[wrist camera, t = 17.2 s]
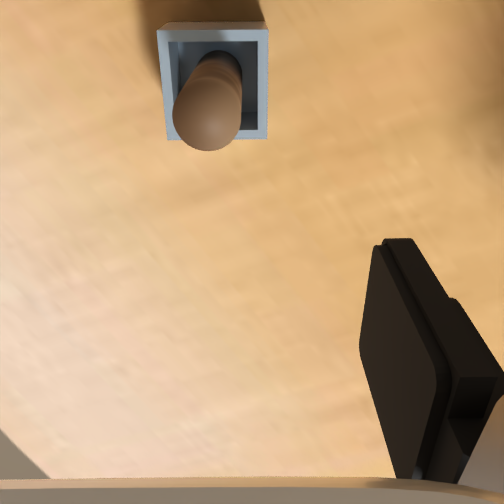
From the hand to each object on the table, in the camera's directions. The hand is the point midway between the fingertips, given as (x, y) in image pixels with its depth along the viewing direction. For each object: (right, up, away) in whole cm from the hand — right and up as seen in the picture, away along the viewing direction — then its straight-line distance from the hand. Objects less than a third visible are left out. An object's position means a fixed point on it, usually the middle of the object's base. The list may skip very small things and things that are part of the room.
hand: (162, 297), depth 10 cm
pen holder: (0, +14, +23) cm, 26 cm away
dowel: (0, +13, +22) cm, 26 cm away
